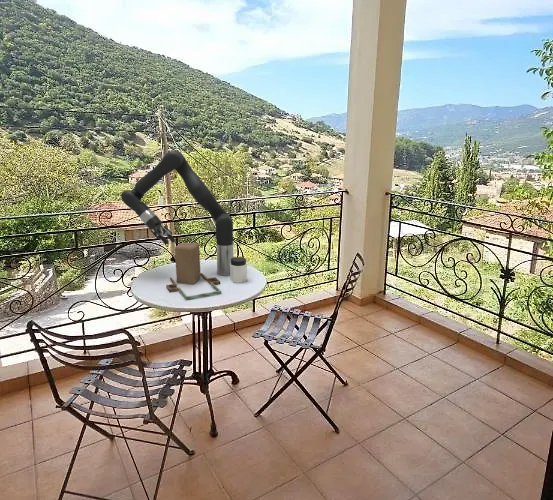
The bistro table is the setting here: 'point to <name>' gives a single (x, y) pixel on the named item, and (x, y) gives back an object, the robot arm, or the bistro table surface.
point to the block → (187, 263)
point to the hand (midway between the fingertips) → (170, 242)
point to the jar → (238, 270)
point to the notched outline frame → (211, 281)
